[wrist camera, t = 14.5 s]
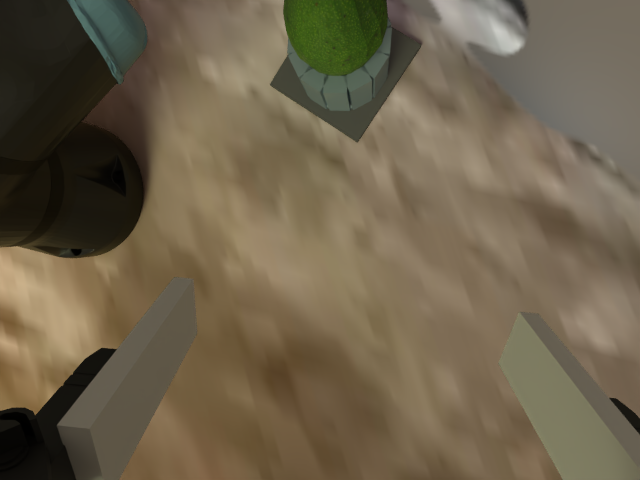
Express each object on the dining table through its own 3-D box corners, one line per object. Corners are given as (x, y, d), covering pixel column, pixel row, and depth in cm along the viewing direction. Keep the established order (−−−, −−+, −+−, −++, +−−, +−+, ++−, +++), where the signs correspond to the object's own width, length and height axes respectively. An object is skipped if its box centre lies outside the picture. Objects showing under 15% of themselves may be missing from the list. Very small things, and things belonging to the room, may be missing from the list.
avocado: (332, 110, 33) (310, 47, 21) (282, 44, 33) (232, -55, 21) (404, 52, 32) (423, -50, 20) (350, -16, 32) (338, -155, 20)
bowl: (282, 81, 37) (269, 59, 32) (331, 2, 36) (324, -33, 31) (354, 127, 36) (352, 112, 31) (406, 48, 35) (412, 20, 30)
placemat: (271, 85, 38) (269, 84, 37) (329, -9, 36) (328, -12, 36) (357, 142, 37) (357, 141, 36) (420, 47, 35) (421, 45, 35)
